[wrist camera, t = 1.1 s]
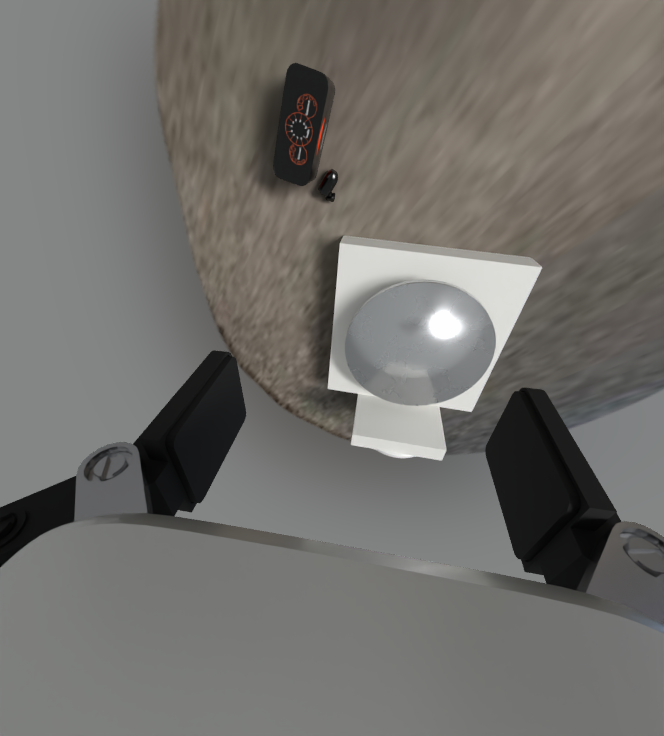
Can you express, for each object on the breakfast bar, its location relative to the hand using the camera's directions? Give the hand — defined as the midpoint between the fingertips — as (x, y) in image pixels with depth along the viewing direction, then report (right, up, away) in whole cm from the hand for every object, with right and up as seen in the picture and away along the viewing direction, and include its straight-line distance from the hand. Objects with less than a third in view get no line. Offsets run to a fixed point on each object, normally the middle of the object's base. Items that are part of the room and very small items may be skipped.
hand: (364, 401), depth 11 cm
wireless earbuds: (-2, +19, +13) cm, 23 cm away
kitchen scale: (+7, +5, +22) cm, 23 cm away
